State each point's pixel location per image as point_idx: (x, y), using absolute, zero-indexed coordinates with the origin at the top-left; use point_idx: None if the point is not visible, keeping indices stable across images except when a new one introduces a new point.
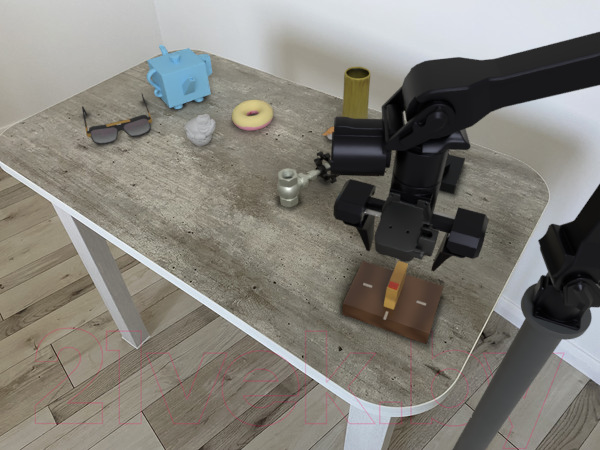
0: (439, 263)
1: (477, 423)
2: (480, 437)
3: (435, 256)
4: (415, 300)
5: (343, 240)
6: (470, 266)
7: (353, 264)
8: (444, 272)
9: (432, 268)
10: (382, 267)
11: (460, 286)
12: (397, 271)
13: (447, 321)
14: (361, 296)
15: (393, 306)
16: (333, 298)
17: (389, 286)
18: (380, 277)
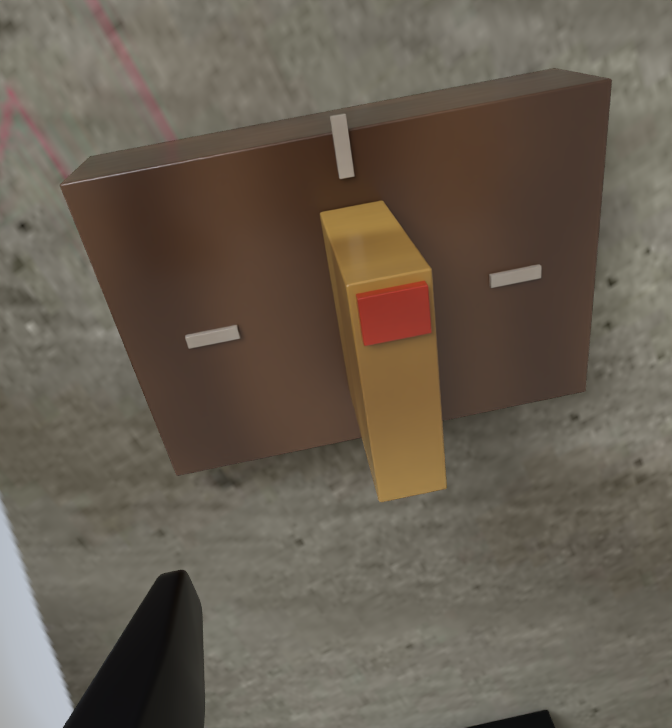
0: (86, 721)
1: None
2: None
3: (193, 720)
4: (248, 334)
5: (663, 435)
6: None
7: (589, 360)
8: (235, 520)
9: (168, 601)
10: (482, 409)
11: (146, 503)
12: (416, 424)
13: (87, 333)
14: (522, 190)
15: (329, 220)
16: (626, 137)
17: (418, 288)
18: (470, 355)
